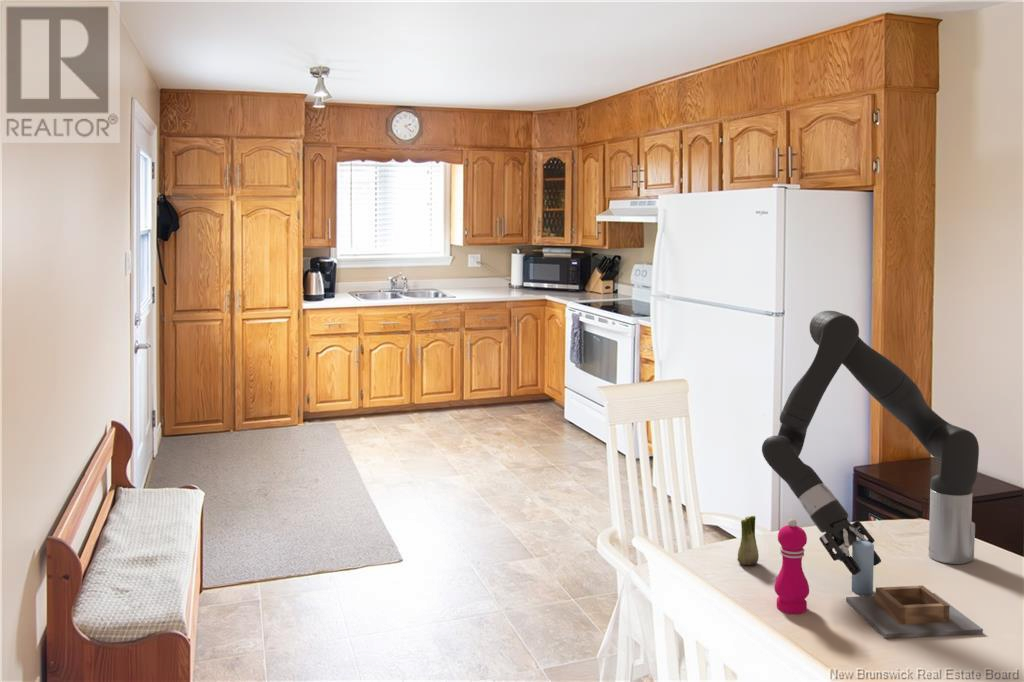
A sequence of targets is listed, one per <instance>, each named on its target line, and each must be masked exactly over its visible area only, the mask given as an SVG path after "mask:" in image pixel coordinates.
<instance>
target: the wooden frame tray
mask: <svg viewBox="0 0 1024 682" xmlns="http://www.w3.org/2000/svg"><path fill="white" fill-rule="evenodd" d="M845 602H846V603H847V604H848V605H849V606H850V607H852V608H853V609H854V610H855V611H856V612H857V613H858V615H860V616H861V617H862V618H863V619H864V620H865V621H866V622H867V623H868V624H870V626H872V627H873V629H875V630H876V632H878V633H879V634H880V635H881V637H883V638H884V639H886V640H887V639H889V638H890V639H905V638H908V639H909V638H926V637H928V638H929V637H930V638H931V637H944V636H945V637H946V636H947V637H950V636H966V635H983V634H984V629H983V628H982V627H981V626H980V625H978V624H977V623H975V621H973V620H971V619H970V618H969V617H968V616H967V615H965V614H963V613H962V612H960V611H959V610H958V609H956V608H955V607H954V606H953V605H951V603H948V601H946V600H945V599H943V598H942V597H940V595H938V594H937V593H935V592H932V591H931V590H930V589H928V588H927V587H925V586H924V585H922V584H921V585H907V586H906V585H903V586H885V587H875V595H861V596H856V595H855V596H846V597H845ZM902 637H903V638H902ZM890 639H889V640H890Z"/></svg>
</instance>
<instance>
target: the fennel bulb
mask: <svg viewBox="0 0 1024 682" xmlns="http://www.w3.org/2000/svg"><path fill="white" fill-rule="evenodd" d="M744 518H745V519H742V520H740V525H741V540H740V544H739V547H738V551H737V561H738V563H739V564H741V565H743V566H747V567H748V566H752V565H756V564H757V563H758V562H759V549H758V545H757V540H756V516H755V515H750V516H746V517H744Z"/></svg>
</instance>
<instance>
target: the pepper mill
mask: <svg viewBox="0 0 1024 682" xmlns="http://www.w3.org/2000/svg"><path fill="white" fill-rule="evenodd" d="M787 523H788V525H784V526H783V527H781V528H779V531H778V533H777V541H778V543H779V544H780V545H781V546H780V547H779V549H780V551H779V553H780V555H781V556H782V557H781V559H782V561H781V562H782V564H781V568H780V571H779V573H777V574H778V575H777V576H776V579H775V581H774V592H775V594H776V595H777V597H776V608H777V609H778V610H779V611H781V612H783V613H786V614H791V615H793V614H795V615H796V614H797V615H798V614H803V613H805V612H807V610H808V608H807V607H808V602H807V599H806V598H808V596H809V594H810V585H809V582H808V579H807V577H806V575H805V573H804V571H803V570H804V569H803V565H802V564H803V563H802V560H803V557H804V556H805V548H804V547H805V546H806V545H807V542H808V536H807V533H806V531H805V530H804V529H803V528H802V527H800V526H798V525H797V524H798V523H797V520H796V519H794V518H790V519H789V520H788V522H787Z"/></svg>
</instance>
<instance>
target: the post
mask: <svg viewBox="0 0 1024 682" xmlns="http://www.w3.org/2000/svg"><path fill="white" fill-rule="evenodd" d="M851 546H852V547H851V551H852V552H851V553H852V554H851V556H852V558H853V559H854V561H855V562H856V563H857V565H858V566H859V567H860V569H861V571H860V572H859V573H857V574H856V575H853V574H852V573H851V592H852V593H853V594H857V595H861V596H871V595H872V594H873V593H874V568H875V567H874V550H875V544H874V543H873V544H872V543H870V542H866V541H855V542H853V543H852V545H851Z"/></svg>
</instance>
